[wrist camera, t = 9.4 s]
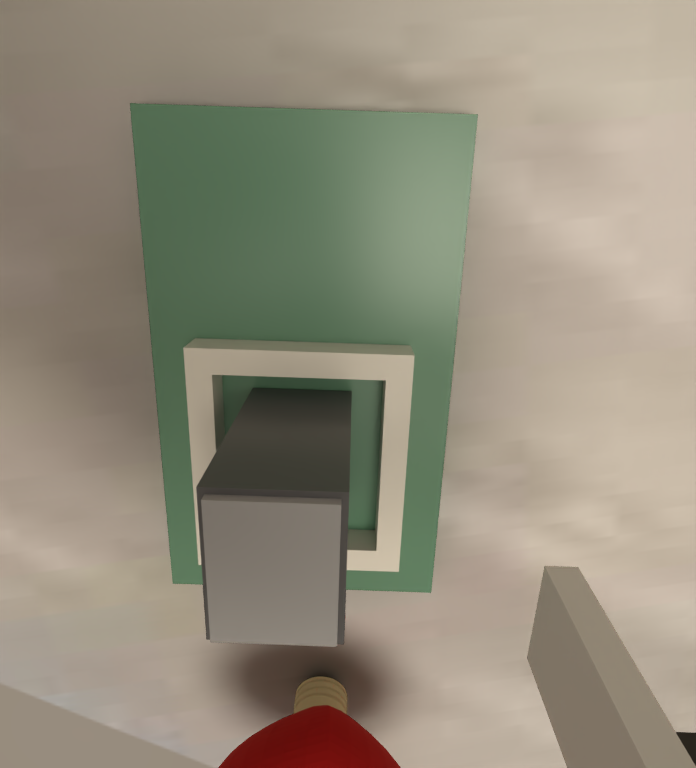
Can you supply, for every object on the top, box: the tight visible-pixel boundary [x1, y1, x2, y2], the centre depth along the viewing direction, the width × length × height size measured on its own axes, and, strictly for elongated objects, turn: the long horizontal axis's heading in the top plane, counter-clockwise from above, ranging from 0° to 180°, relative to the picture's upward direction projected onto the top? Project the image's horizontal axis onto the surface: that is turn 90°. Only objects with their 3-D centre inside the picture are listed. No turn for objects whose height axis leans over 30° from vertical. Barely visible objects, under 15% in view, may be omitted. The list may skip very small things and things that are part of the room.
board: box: [130, 103, 478, 593], centre depth 21 cm, size 20×12×3 cm, turn 178°
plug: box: [196, 388, 352, 647], centre depth 18 cm, size 6×4×8 cm, turn 178°
